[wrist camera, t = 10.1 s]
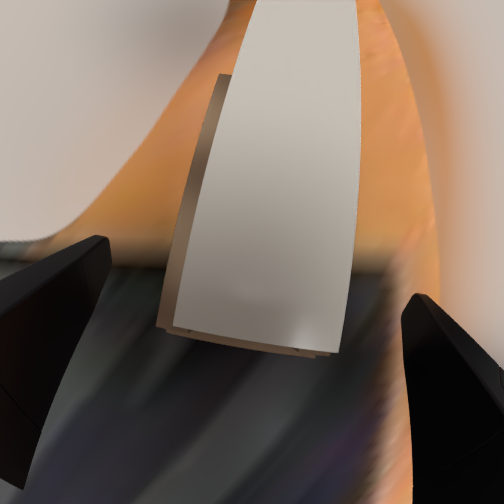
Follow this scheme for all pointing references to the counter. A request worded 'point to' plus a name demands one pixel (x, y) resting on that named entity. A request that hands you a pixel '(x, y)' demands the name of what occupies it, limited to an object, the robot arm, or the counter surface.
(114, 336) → the counter surface
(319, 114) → the clay slab
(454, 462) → the robot arm
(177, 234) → the flanged channel block
